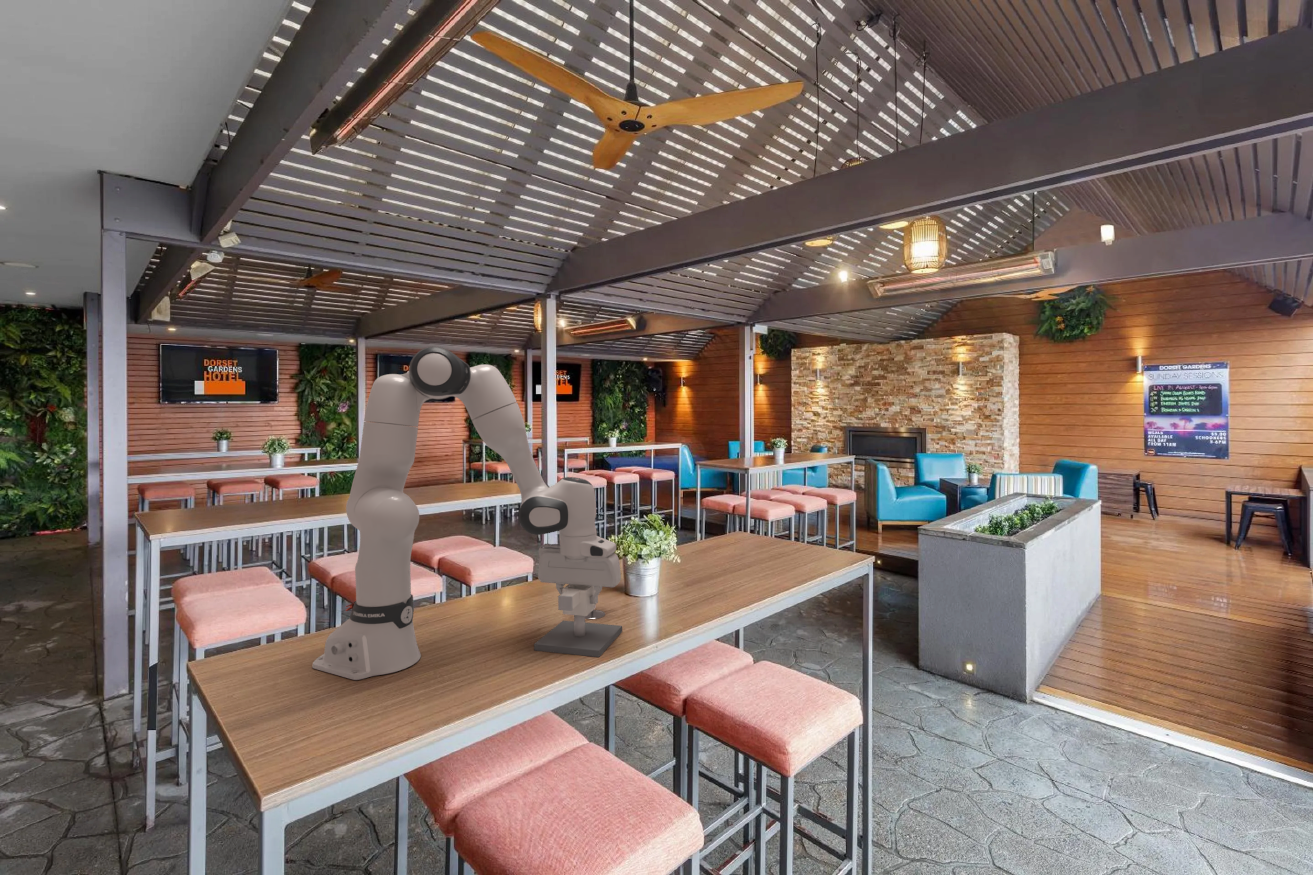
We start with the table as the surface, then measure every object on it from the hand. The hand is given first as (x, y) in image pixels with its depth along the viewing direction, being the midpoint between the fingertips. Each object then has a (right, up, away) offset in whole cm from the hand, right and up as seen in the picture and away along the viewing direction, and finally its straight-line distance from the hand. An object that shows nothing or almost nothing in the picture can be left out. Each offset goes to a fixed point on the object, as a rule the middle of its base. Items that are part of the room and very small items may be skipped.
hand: (579, 602), depth 145 cm
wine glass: (+1, -9, +19) cm, 21 cm away
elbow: (-1, -2, -3) cm, 3 cm away
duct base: (0, -9, 0) cm, 9 cm away
